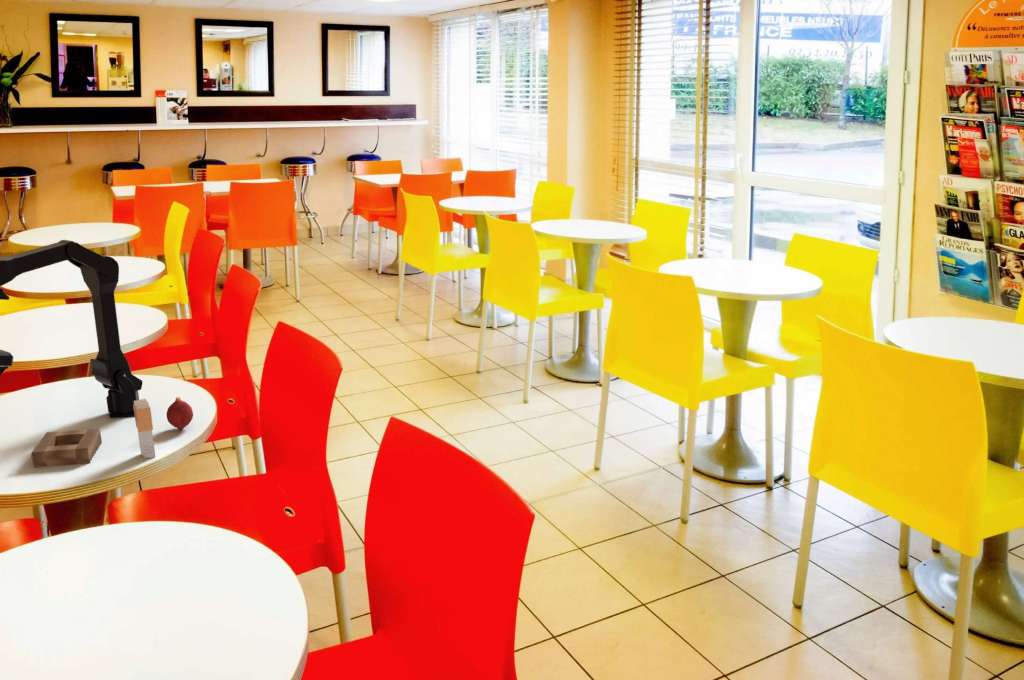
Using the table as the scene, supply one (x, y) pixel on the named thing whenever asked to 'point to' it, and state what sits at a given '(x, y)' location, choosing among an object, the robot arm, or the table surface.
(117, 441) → the table surface
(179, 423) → the onion
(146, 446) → the banded grey brick
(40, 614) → the table surface
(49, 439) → the block
